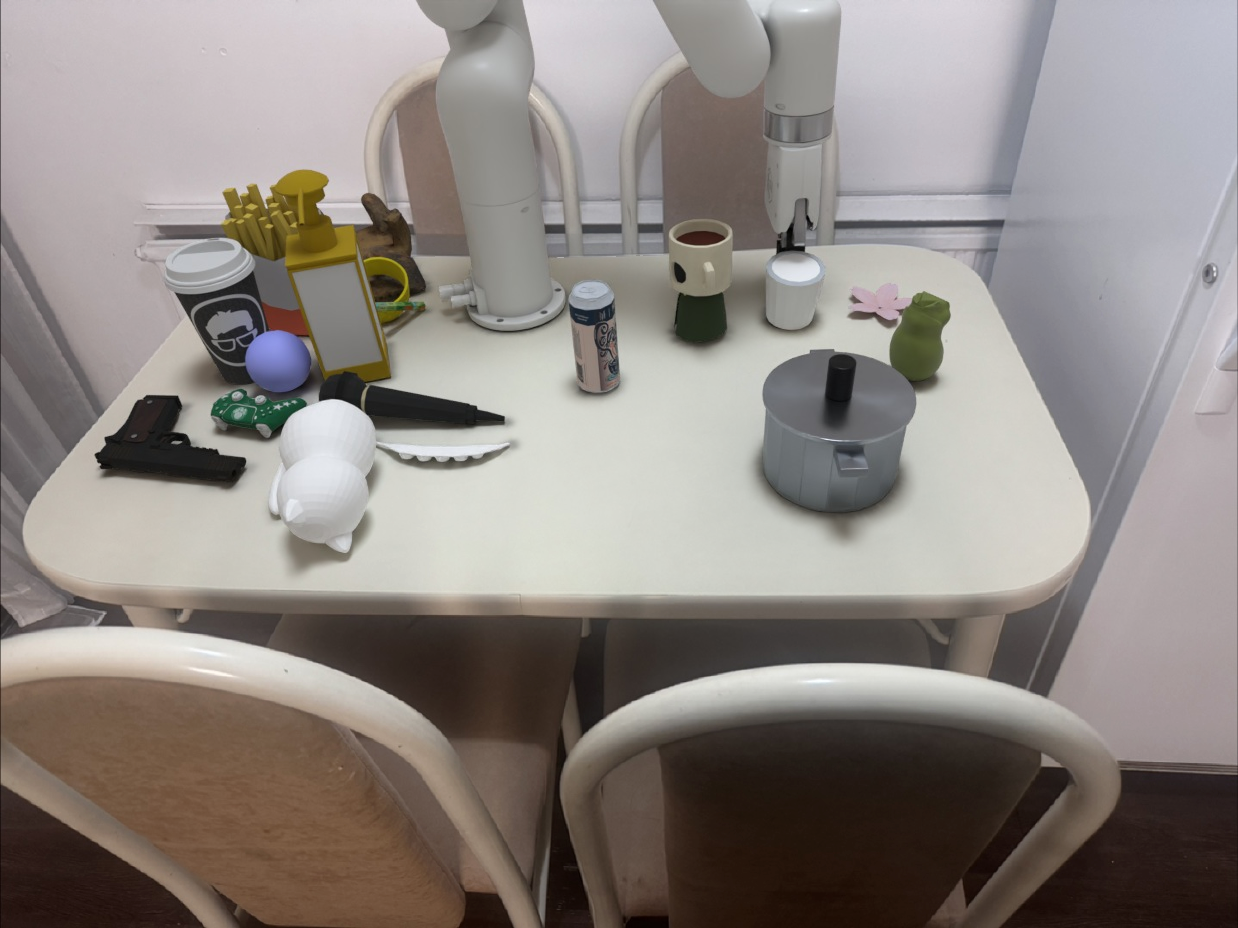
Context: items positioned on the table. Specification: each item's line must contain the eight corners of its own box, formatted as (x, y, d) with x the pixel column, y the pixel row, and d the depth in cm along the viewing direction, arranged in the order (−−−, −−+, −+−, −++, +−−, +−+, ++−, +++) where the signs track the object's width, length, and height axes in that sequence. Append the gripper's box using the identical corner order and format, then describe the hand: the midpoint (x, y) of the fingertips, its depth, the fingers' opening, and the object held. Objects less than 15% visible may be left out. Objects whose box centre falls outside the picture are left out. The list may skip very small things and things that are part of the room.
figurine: (379, 178, 123) (425, 235, 110) (396, 225, 129) (442, 286, 115) (289, 211, 120) (325, 274, 107) (311, 258, 126) (347, 324, 112)
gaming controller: (298, 382, 94) (269, 422, 90) (311, 406, 97) (284, 446, 93) (226, 371, 96) (195, 410, 92) (241, 395, 99) (211, 433, 95)
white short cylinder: (757, 298, 107) (762, 250, 102) (813, 296, 107) (821, 248, 102) (764, 334, 103) (769, 286, 97) (822, 332, 103) (830, 284, 97)
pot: (773, 535, 78) (779, 464, 72) (754, 412, 91) (758, 345, 86) (915, 532, 77) (932, 460, 72) (875, 409, 91) (887, 340, 85)
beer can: (615, 397, 95) (608, 302, 87) (573, 394, 96) (562, 299, 88) (624, 372, 98) (617, 278, 90) (583, 369, 99) (573, 276, 91)
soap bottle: (328, 417, 95) (256, 215, 79) (326, 355, 104) (262, 164, 89) (394, 403, 96) (336, 202, 81) (386, 344, 105) (333, 153, 90)
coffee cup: (307, 352, 105) (266, 238, 96) (258, 397, 99) (210, 281, 89) (242, 341, 108) (197, 230, 98) (191, 385, 101) (137, 270, 92)
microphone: (512, 394, 95) (334, 369, 96) (502, 392, 89) (313, 366, 90) (505, 443, 95) (328, 418, 96) (496, 444, 90) (307, 418, 90)
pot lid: (770, 453, 74) (773, 411, 71) (755, 363, 85) (757, 322, 82) (931, 448, 74) (941, 405, 71) (896, 358, 84) (903, 317, 81)
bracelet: (386, 317, 106) (388, 332, 109) (420, 273, 110) (421, 288, 113) (334, 291, 107) (337, 307, 110) (369, 248, 110) (372, 264, 113)
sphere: (333, 375, 99) (287, 369, 93) (292, 405, 102) (245, 401, 95) (310, 323, 101) (263, 314, 94) (271, 354, 103) (222, 347, 97)
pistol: (290, 420, 96) (232, 489, 87) (149, 405, 99) (79, 471, 90) (284, 402, 95) (225, 471, 86) (142, 388, 98) (70, 453, 88)
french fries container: (339, 337, 107) (295, 199, 95) (258, 335, 109) (204, 199, 97) (353, 318, 111) (312, 182, 99) (273, 316, 112) (223, 182, 100)
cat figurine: (405, 420, 87) (387, 543, 77) (323, 472, 92) (298, 593, 83) (333, 370, 81) (304, 495, 72) (251, 429, 87) (214, 552, 77)
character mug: (663, 313, 107) (660, 214, 99) (719, 306, 108) (721, 207, 99) (679, 361, 99) (678, 259, 91) (740, 354, 100) (744, 251, 91)
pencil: (322, 299, 95) (422, 299, 111) (316, 306, 96) (417, 304, 112) (328, 309, 95) (428, 307, 111) (322, 315, 95) (422, 312, 112)
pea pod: (502, 452, 86) (503, 466, 86) (510, 436, 90) (511, 450, 91) (355, 452, 87) (357, 466, 87) (369, 436, 91) (371, 450, 92)
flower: (818, 303, 107) (819, 292, 106) (879, 279, 111) (880, 268, 110) (874, 339, 100) (876, 327, 99) (937, 312, 104) (939, 301, 103)
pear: (875, 374, 95) (889, 294, 89) (907, 355, 98) (922, 276, 91) (917, 396, 92) (934, 315, 85) (948, 377, 94) (967, 296, 88)
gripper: (754, 101, 101) (751, 245, 113) (773, 150, 89) (767, 305, 101) (819, 95, 100) (809, 241, 112) (846, 144, 89) (832, 300, 101)
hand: (789, 271), depth 107 cm, fingers closed
